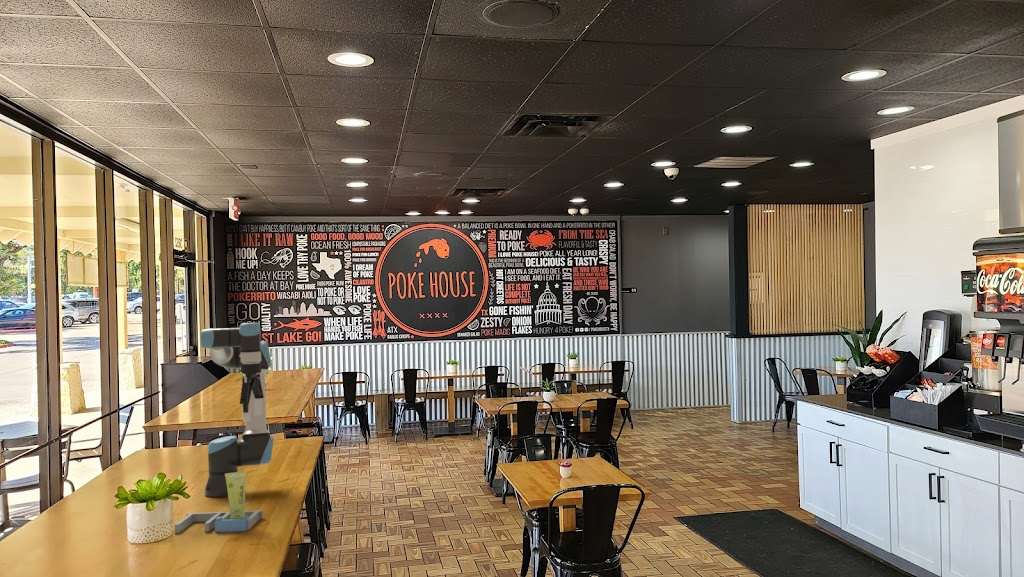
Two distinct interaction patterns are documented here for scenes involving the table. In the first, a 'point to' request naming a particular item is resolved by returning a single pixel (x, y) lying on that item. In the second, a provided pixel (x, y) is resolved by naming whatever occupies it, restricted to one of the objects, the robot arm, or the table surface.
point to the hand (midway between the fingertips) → (252, 418)
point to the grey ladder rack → (220, 521)
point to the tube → (236, 493)
